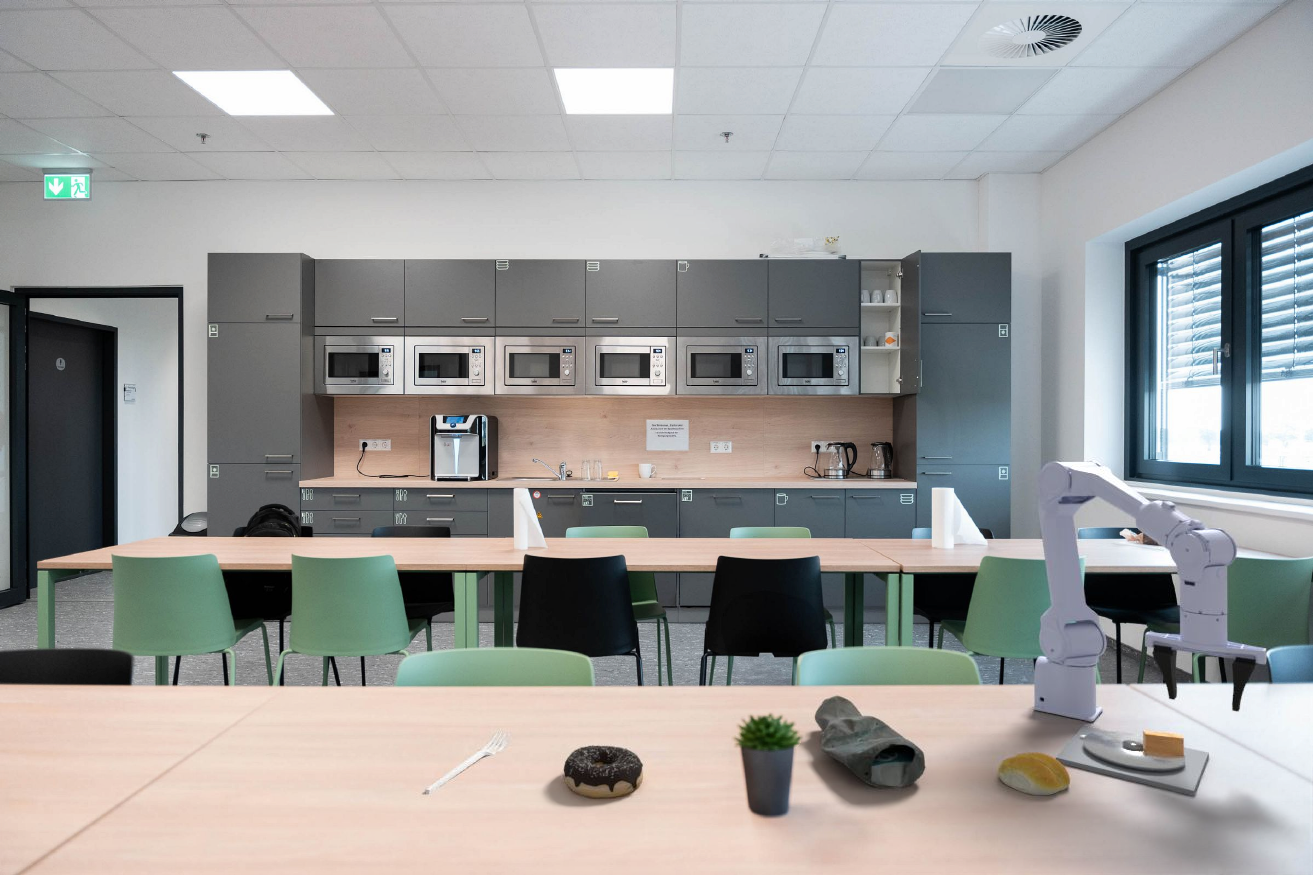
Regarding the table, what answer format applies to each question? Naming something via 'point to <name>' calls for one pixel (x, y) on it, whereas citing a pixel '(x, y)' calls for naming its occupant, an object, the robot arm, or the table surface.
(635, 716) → the table surface
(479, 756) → the fork
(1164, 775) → the base plate
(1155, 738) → the handwheel
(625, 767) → the donut
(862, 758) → the crumpled grey pouch
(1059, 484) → the robot arm
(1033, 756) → the bread roll
